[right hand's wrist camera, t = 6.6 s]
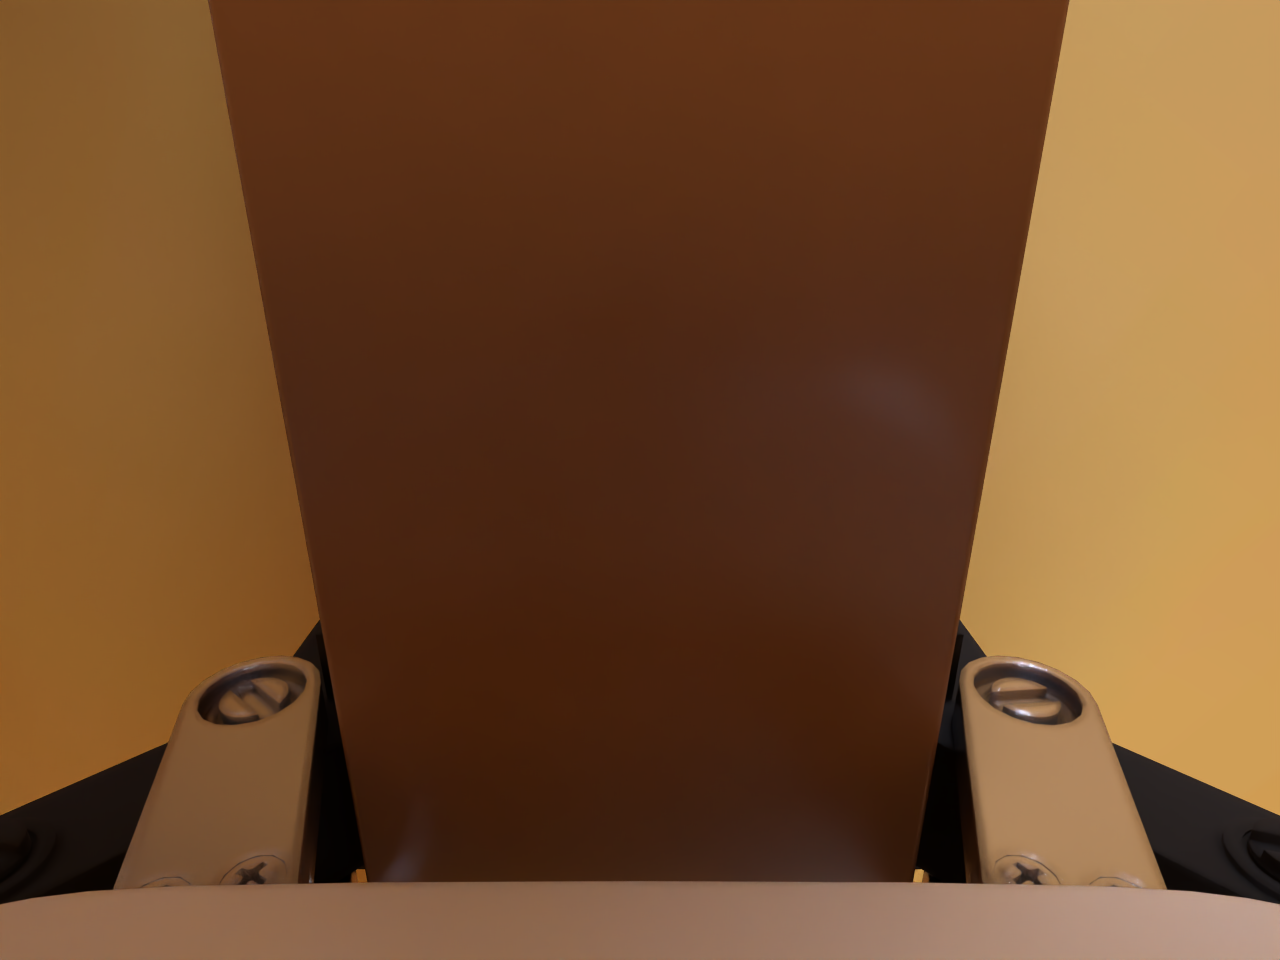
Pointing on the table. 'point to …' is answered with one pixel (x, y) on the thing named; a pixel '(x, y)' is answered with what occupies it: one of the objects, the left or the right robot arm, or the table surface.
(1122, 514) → the table surface
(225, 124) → the table surface
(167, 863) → the right robot arm
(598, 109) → the post
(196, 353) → the table surface
